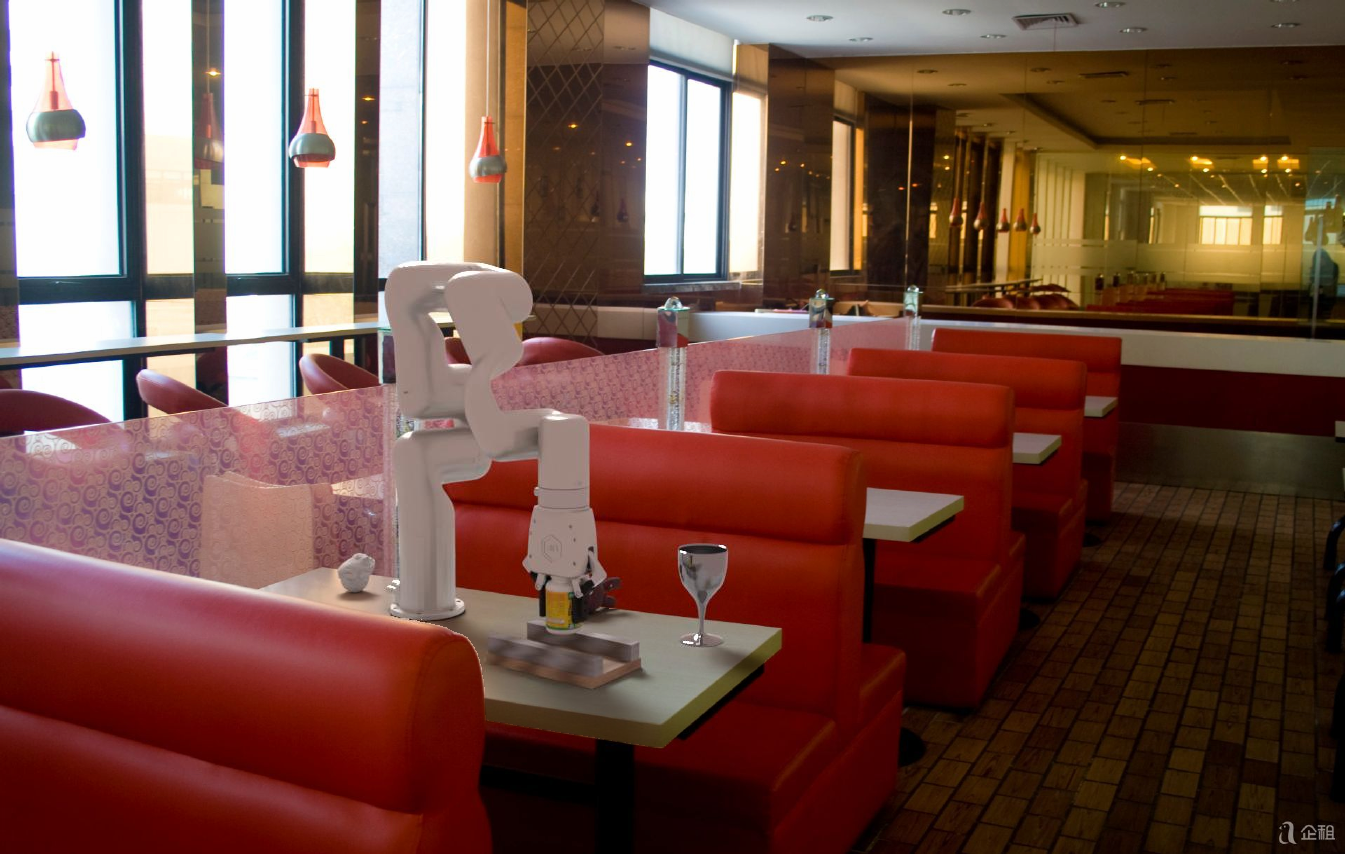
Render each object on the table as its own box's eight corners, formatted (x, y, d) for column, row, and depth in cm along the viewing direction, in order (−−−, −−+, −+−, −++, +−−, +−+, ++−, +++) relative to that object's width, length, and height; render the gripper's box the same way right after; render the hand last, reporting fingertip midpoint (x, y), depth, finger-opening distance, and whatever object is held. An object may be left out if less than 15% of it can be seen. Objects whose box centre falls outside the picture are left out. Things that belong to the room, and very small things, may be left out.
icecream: (558, 588, 199) (633, 584, 208) (538, 568, 205) (612, 565, 213) (549, 625, 201) (624, 620, 210) (530, 604, 207) (604, 600, 215)
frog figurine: (381, 592, 219) (381, 554, 218) (345, 598, 215) (345, 559, 214) (366, 585, 224) (366, 548, 223) (331, 591, 219) (330, 553, 219)
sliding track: (485, 662, 180) (485, 636, 179) (537, 643, 190) (537, 618, 189) (592, 689, 169) (592, 661, 168) (640, 667, 179) (641, 641, 178)
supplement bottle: (557, 623, 182) (557, 561, 181) (588, 628, 180) (588, 565, 179) (539, 632, 177) (538, 569, 176) (570, 637, 175) (570, 572, 174)
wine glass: (733, 636, 195) (735, 546, 193) (714, 650, 188) (716, 556, 186) (688, 630, 198) (690, 541, 196) (668, 643, 191) (670, 551, 189)
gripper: (502, 495, 178) (503, 614, 180) (594, 508, 168) (594, 633, 170) (535, 489, 184) (535, 604, 186) (626, 500, 175) (625, 622, 177)
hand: (563, 617), depth 178 cm, fingers closed on supplement bottle, 5 cm apart
